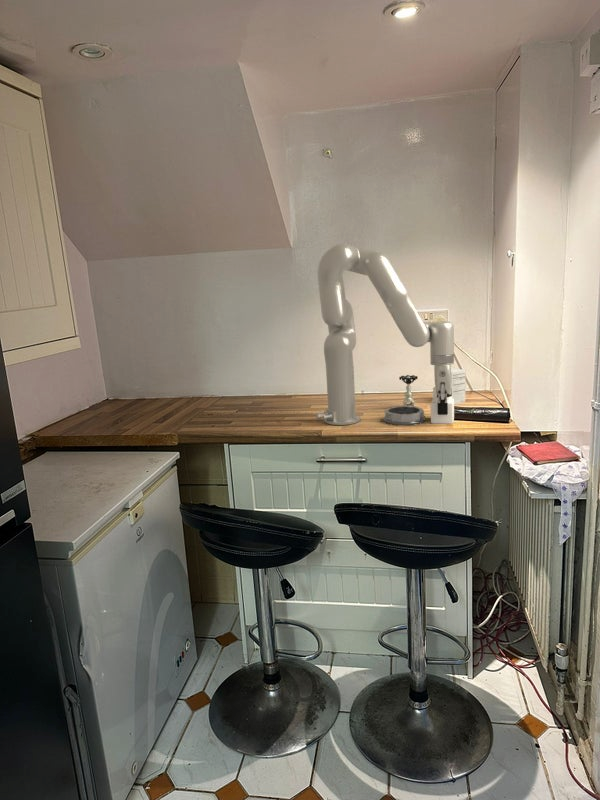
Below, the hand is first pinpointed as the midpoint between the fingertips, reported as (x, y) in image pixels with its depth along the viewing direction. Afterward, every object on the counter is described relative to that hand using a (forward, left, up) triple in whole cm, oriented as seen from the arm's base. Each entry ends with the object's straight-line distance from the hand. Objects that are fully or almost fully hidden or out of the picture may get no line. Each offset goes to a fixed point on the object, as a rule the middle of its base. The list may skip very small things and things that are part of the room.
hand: (442, 411), depth 193 cm
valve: (+3, +22, -4) cm, 23 cm away
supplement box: (+21, +19, -4) cm, 29 cm away
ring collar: (-9, +9, -3) cm, 13 cm away
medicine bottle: (0, 0, -4) cm, 4 cm away
